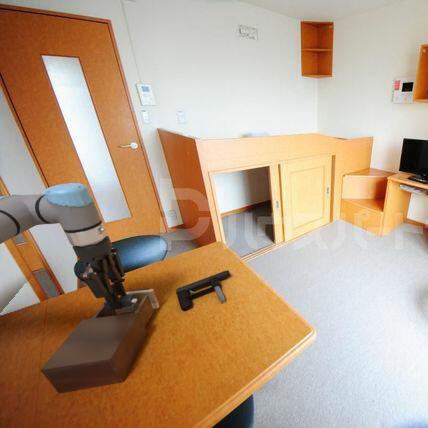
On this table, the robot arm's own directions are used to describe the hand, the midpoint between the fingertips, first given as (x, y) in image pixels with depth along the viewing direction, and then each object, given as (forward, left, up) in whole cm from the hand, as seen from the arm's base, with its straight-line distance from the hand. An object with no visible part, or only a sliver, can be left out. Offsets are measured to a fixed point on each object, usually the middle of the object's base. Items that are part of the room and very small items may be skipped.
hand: (120, 304), depth 74 cm
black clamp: (+20, +14, -10) cm, 26 cm away
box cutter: (0, 0, 0) cm, 0 cm away
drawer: (0, +2, -9) cm, 9 cm away
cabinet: (+2, -12, -10) cm, 15 cm away
